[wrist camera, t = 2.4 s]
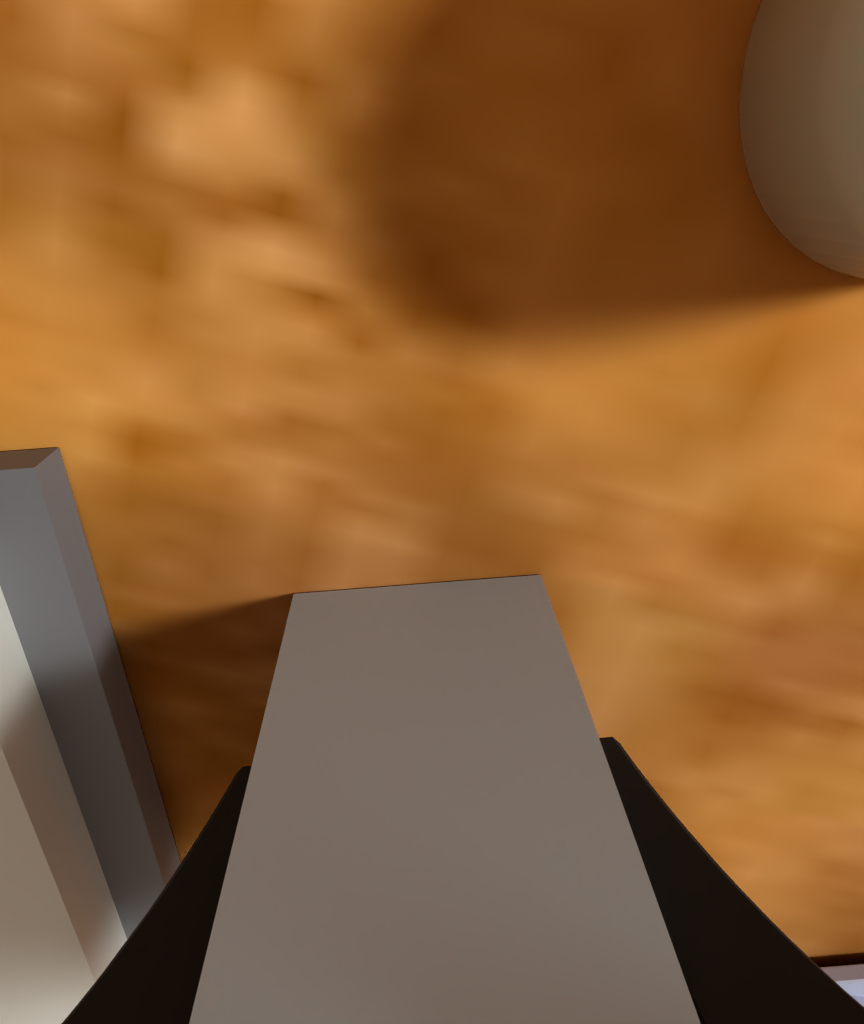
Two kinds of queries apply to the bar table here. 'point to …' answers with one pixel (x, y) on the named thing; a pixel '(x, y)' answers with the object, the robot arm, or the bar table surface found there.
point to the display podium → (65, 759)
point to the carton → (434, 829)
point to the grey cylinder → (808, 125)
